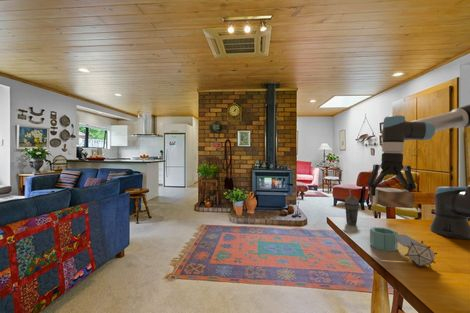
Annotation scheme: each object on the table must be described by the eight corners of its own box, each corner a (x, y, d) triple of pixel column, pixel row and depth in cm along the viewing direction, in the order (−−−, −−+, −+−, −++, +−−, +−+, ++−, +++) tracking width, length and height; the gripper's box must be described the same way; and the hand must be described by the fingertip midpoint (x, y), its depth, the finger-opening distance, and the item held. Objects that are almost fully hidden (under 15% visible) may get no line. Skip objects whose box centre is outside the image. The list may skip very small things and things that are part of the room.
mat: (405, 235, 111) (405, 234, 111) (428, 248, 96) (428, 247, 96) (385, 234, 112) (385, 233, 112) (404, 247, 97) (404, 246, 97)
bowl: (389, 243, 100) (389, 227, 100) (401, 252, 91) (401, 235, 91) (366, 242, 101) (367, 226, 101) (377, 251, 92) (377, 234, 92)
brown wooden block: (395, 201, 105) (396, 188, 104) (413, 208, 92) (414, 193, 92) (369, 200, 106) (369, 186, 106) (383, 206, 93) (384, 191, 93)
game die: (415, 276, 81) (395, 251, 82) (419, 260, 86) (400, 237, 88) (444, 274, 74) (422, 247, 76) (446, 256, 80) (426, 231, 81)
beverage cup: (361, 227, 122) (361, 189, 122) (346, 226, 123) (346, 188, 123) (356, 223, 129) (357, 187, 129) (342, 222, 130) (343, 186, 130)
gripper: (417, 153, 101) (414, 204, 101) (359, 151, 104) (356, 200, 104) (429, 153, 93) (426, 208, 94) (366, 151, 96) (363, 204, 97)
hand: (389, 204), depth 99 cm, fingers closed on brown wooden block, 11 cm apart
